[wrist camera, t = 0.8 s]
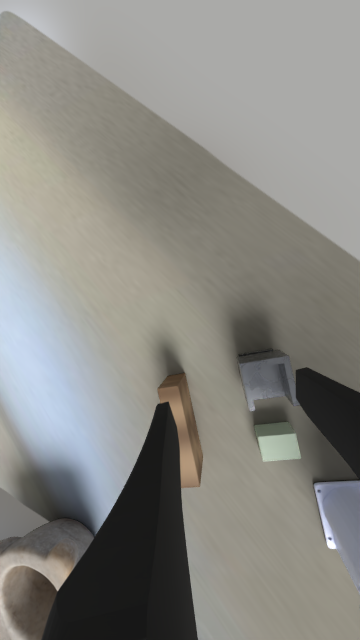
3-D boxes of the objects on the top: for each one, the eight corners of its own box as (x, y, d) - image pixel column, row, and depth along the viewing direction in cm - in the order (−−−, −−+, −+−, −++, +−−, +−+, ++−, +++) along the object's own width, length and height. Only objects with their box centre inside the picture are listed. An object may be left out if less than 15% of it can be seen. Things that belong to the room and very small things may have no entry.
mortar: (30, 496, 40) (-26, 550, 31) (106, 498, 36) (68, 559, 27) (43, 579, 40) (-8, 657, 31) (120, 588, 36) (88, 679, 27)
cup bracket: (283, 387, 30) (299, 405, 24) (243, 392, 31) (249, 411, 25) (274, 347, 30) (288, 355, 24) (235, 354, 31) (239, 364, 25)
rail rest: (293, 444, 30) (301, 458, 27) (258, 447, 31) (263, 461, 28) (288, 421, 30) (295, 433, 27) (253, 425, 31) (257, 437, 28)
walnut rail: (203, 455, 33) (199, 486, 27) (185, 457, 33) (178, 487, 27) (185, 372, 33) (178, 385, 27) (168, 375, 33) (157, 388, 28)
